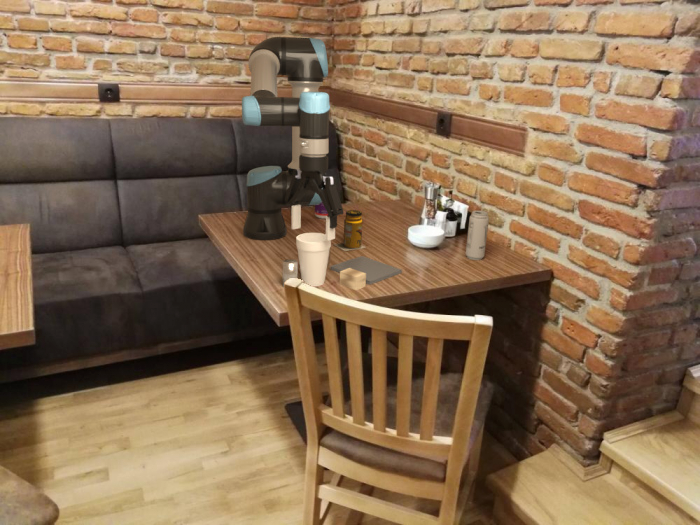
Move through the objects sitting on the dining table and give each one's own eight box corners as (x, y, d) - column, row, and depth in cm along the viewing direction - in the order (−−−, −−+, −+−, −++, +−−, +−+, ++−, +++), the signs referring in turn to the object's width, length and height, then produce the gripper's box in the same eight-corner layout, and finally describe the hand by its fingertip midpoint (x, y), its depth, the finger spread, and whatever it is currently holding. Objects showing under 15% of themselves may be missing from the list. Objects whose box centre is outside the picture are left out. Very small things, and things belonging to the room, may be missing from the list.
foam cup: (312, 291, 149) (312, 245, 145) (289, 281, 155) (289, 237, 150) (336, 282, 156) (337, 238, 151) (313, 273, 162) (314, 230, 157)
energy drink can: (482, 261, 176) (488, 216, 171) (463, 259, 178) (468, 213, 173) (485, 256, 182) (490, 211, 177) (466, 253, 184) (471, 209, 178)
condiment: (366, 247, 185) (368, 213, 181) (345, 251, 181) (346, 216, 177) (354, 241, 191) (355, 207, 187) (333, 245, 187) (334, 210, 183)
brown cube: (306, 267, 166) (307, 251, 164) (315, 262, 170) (316, 247, 169) (321, 270, 164) (321, 255, 162) (329, 266, 168) (330, 250, 166)
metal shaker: (279, 285, 152) (279, 261, 150) (291, 281, 155) (291, 258, 152) (289, 289, 150) (289, 265, 147) (300, 286, 152) (300, 262, 150)
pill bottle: (314, 214, 223) (314, 178, 218) (334, 214, 224) (335, 178, 219) (315, 219, 215) (315, 182, 210) (335, 219, 216) (336, 183, 211)
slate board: (330, 269, 165) (330, 266, 165) (361, 258, 175) (362, 255, 175) (370, 284, 155) (370, 281, 155) (401, 272, 165) (401, 269, 164)
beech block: (339, 284, 155) (340, 271, 153) (349, 281, 157) (349, 267, 156) (356, 290, 151) (356, 277, 150) (365, 286, 154) (366, 273, 152)
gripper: (271, 149, 148) (272, 226, 155) (337, 162, 132) (335, 247, 139) (293, 147, 153) (293, 221, 161) (359, 159, 137) (355, 241, 144)
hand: (312, 233), depth 150 cm, fingers open, 13 cm apart
